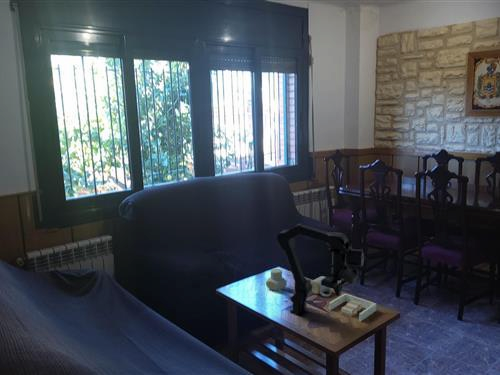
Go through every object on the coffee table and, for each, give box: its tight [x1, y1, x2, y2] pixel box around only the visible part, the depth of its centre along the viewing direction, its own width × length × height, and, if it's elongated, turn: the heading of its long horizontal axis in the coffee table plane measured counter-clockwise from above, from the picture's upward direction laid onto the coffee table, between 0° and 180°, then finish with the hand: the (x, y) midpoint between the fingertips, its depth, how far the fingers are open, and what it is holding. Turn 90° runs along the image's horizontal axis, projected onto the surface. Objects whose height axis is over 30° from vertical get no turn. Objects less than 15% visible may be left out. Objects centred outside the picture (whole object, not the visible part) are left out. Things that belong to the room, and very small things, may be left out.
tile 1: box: [340, 303, 358, 318], centre depth 196 cm, size 5×5×3 cm
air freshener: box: [265, 268, 288, 292], centre depth 223 cm, size 11×8×10 cm
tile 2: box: [345, 301, 362, 313], centre depth 200 cm, size 5×5×3 cm
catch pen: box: [328, 293, 377, 322], centre depth 199 cm, size 14×17×4 cm
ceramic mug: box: [311, 275, 332, 297], centre depth 217 cm, size 11×8×8 cm
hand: (338, 296), depth 188 cm, fingers closed
